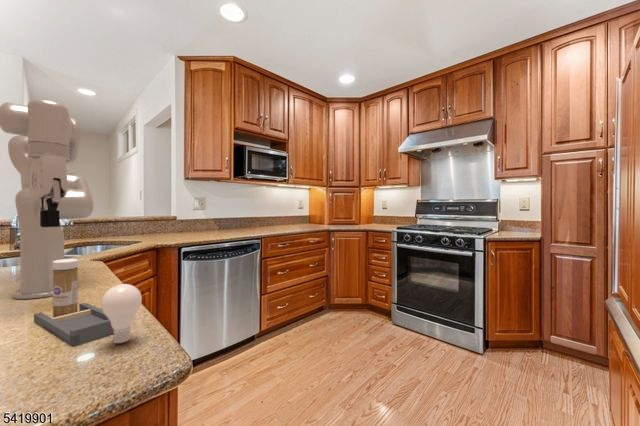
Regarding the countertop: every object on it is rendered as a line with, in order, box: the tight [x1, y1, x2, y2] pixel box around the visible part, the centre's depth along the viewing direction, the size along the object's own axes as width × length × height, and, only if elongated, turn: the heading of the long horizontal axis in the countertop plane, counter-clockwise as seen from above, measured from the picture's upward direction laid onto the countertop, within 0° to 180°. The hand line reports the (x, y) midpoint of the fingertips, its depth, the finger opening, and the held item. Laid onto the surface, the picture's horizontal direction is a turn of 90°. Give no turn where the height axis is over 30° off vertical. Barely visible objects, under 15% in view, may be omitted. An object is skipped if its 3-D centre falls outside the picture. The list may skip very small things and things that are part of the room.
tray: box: [33, 302, 114, 347], centre depth 63 cm, size 22×9×3 cm, turn 58°
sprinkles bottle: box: [52, 258, 79, 318], centre depth 67 cm, size 5×5×14 cm
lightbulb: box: [100, 283, 143, 345], centre depth 54 cm, size 6×6×11 cm
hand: (50, 226), depth 72 cm, fingers closed
